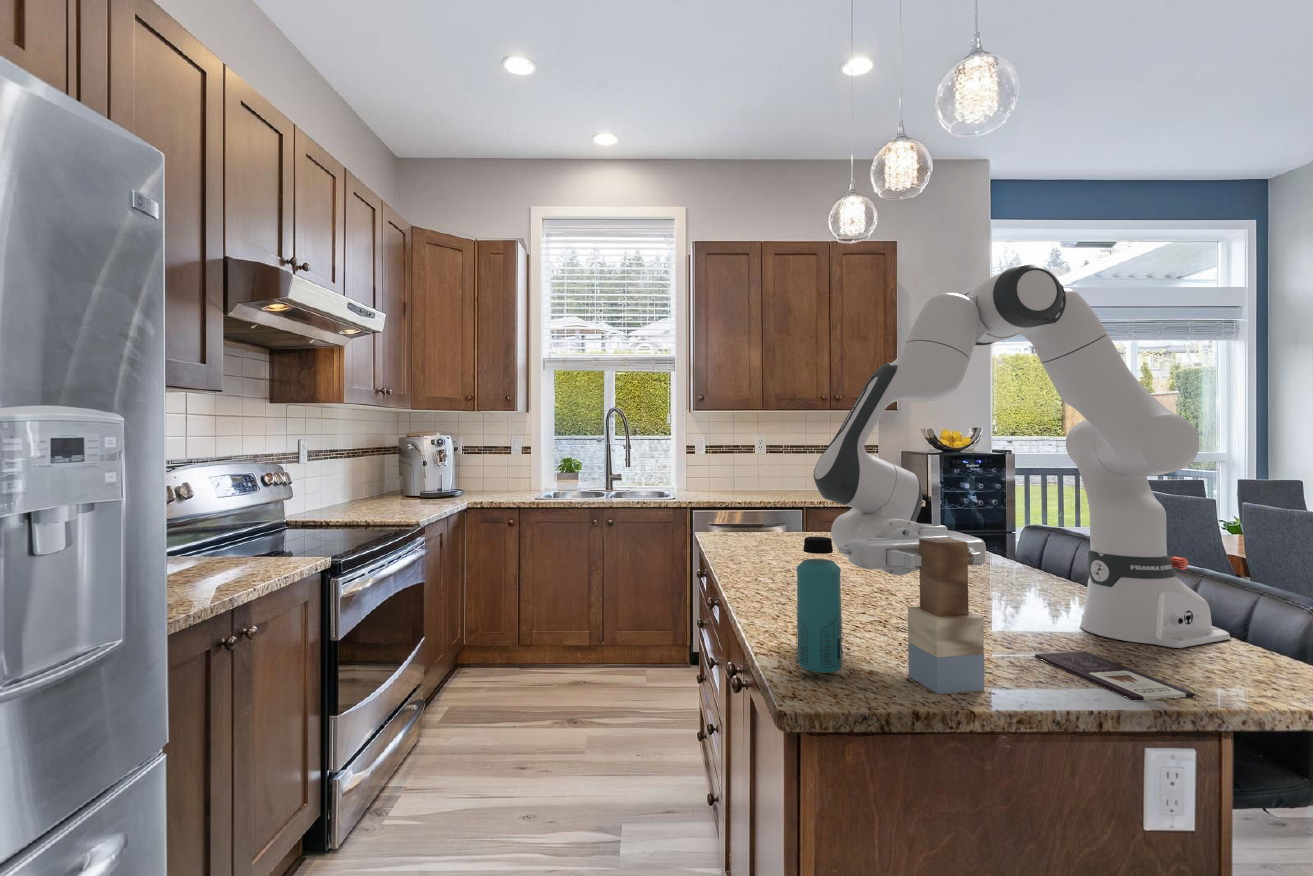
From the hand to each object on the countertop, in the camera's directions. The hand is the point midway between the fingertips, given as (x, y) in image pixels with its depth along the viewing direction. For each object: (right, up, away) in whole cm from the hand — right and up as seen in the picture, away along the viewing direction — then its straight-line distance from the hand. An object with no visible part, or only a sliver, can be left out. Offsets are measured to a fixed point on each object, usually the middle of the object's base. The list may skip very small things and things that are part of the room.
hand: (947, 560), depth 92 cm
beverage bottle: (-17, -18, +4) cm, 25 cm away
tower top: (0, -12, +1) cm, 12 cm away
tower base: (0, -17, +1) cm, 17 cm away
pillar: (0, -7, +1) cm, 7 cm away
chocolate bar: (+25, -18, +4) cm, 31 cm away
